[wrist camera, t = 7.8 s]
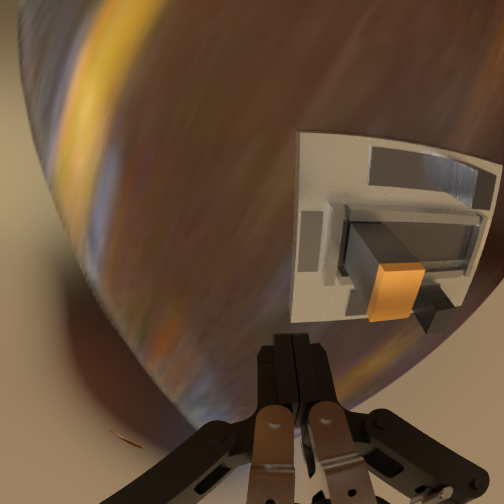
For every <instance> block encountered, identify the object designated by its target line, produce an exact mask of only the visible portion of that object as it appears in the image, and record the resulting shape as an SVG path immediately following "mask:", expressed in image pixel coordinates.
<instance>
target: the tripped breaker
mask: <svg viewBox="0 0 504 504" xmlns="http://www.w3.org/2000/svg"><path fill="white" fill-rule="evenodd" d="M344 267H345V269H346V271H347V273H348V275H349V277H350V279H351V281H352V283H353V285H354V287H355V289H356V292H357V294H358V296H359V298H360V300H361V302H362V305H363V307H364V309H365V311H366V314H367V316H368V318H369V320H370V322H374V321H383V320H392V319H400V318H408V317H409V314H410V312H411V309H412V307H413V304H414V302H415V299H416V296H417V293H418V291H419V288H420V285H421V282H422V279H423V276H424V273H425V268H424V267H423V266H422V265H421V264H420V262H419V261H418V260H417V259H416V258H415V257H414V255H413V254H412V253H411V252H410V251H409V250H408V249H407V247H406V246H405V245H404V244H403V243H402V242H401V241H400V240H399V239H398V238H397V236H396V235H395V234H394V233H393V232H392V231H391V230H390V229H389V228H388V227H387V226H386V225H385V224H362V223H351V226H350V233H349V240H348V247H347V253H346V259H345V265H344Z"/></svg>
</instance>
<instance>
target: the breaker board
mask: <svg viewBox="0 0 504 504" xmlns="http://www.w3.org/2000/svg"><path fill="white" fill-rule="evenodd" d="M501 173H502V165H500V164H498V163H495V162H493V161H490V160H487V159H484V158H481V157H477V156H473V155H470V154H466V153H462V152H458V151H454V150H450V149H445V148H441V147H436V146H431V145H426V144H421V143H416V142H410V141H404V140H398V139H391V138H384V137H377V136H368V135H359V134H349V133H337V132H323V131H302V130H296V162H295V202H294V228H293V249H292V267H291V283H290V298H289V314H290V321H291V323H293V322H315V321H332V320H346V319H359V318H368V316H367V314H366V311H365V309H364V307H363V305H362V302H361V300H360V298H359V296H358V294H357V292H356V289H355V287H354V285H353V283H352V281H351V279H350V277H349V275H348V273H347V271H346V269H345V267H344V265H345V259H346V253H347V247H348V240H349V233H350V226H351V223H362V224H385V225H386V226H387V227H388V228H389V229H390V230H391V231H392V232H393V233H394V234H395V235H396V236H397V238H398V239H399V240H400V241H401V242H402V243H403V244H404V245H405V246H406V247H407V249H408V250H409V251H410V252H411V253H412V254H413V255H414V257H415V258H416V259H417V260H418V261H419V262H420V264H421V265H422V266H423V267H424V268H425V273H424V276H423V279H422V282H421V285H420V288H419V291H418V293H417V296H416V299H415V302H414V304H413V307H412V309H411V312H410V313H414V314H415V316H416V318H417V319H418V321H419V323H420V324H421V326H422V328H423V330H424V331H425V333H426V334H430V333H435V332H440V331H445V329H446V327H447V325H448V323H449V321H450V319H451V317H452V315H453V313H454V311H455V309H456V307H455V306H461V304H462V302H463V300H464V298H465V295H466V293H467V291H468V288H469V286H470V283H471V281H472V278H473V276H474V273H475V271H476V268H477V265H478V262H479V260H480V257H481V254H482V251H483V248H484V245H485V242H486V238H487V235H488V231H489V228H490V224H491V221H492V217H493V213H494V209H495V204H496V200H497V195H498V190H499V185H500V179H501Z"/></svg>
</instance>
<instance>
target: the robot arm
mask: <svg viewBox="0 0 504 504" xmlns="http://www.w3.org/2000/svg"><path fill="white" fill-rule="evenodd" d="M257 360H258V406H257V409H256V411H255V413H254V414H253V415H252V416H251V417H249V418H248V419H246V420H243V421H240V422H237V423H233V424H229V423H227V422H225V421H219V420H216V421H211V422H208V423H206V424H205V425H203V426H202V427H201V428H200V429H199V430H198V431H196V432H195V433H194V434H193V435H192V436H191V437H189V438H188V439H187V440H186V441H185V442H184V443H182V444H181V445H180V446H179V447H177V448H176V449H175V450H174V451H173V452H171V453H170V454H169V455H167V456H166V457H165V458H164V459H162V460H161V461H160V462H158V463H157V464H156V465H155V466H153V467H152V468H151V469H149V470H148V471H146V472H145V473H144V474H143V475H141V476H140V477H138V478H137V479H135V480H134V481H133V482H131V483H130V484H128V485H127V486H125V487H124V488H122V489H121V490H119V491H118V492H116V493H115V494H113V495H112V496H110V497H109V498H107V499H106V500H104V501H102V502H101V503H99V504H196V503H198V502H199V501H200V500H201V499H203V498H204V497H205V496H206V495H207V494H208V493H210V492H211V491H212V490H213V489H214V488H215V487H216V486H218V485H219V484H220V483H221V482H222V481H223V480H224V479H225V478H226V477H227V476H228V475H229V474H230V473H231V472H233V471H234V470H235V469H236V468H237V467H238V466H240V465H244V464H247V463H251V462H252V464H251V468H250V475H249V484H248V493H247V502H246V504H298V503H294V493H295V469H294V425H295V428H296V427H301V435H302V437H301V440H300V444H301V449H302V455H303V460H304V465H305V471H306V476H307V495H308V501H309V504H390V503H389V502H387V501H385V500H384V499H382V498H380V497H378V496H375V494H374V490H373V486H372V483H371V479H370V475H369V472H368V470H369V471H370V472H371V473H373V474H374V475H376V476H377V477H378V478H380V479H381V480H383V481H384V482H386V483H387V484H389V485H390V486H392V487H393V488H395V489H396V490H398V491H399V492H401V493H403V494H404V495H406V496H407V497H409V498H410V499H411V501H410V504H467V503H468V502H469V501H472V500H474V499H476V498H478V497H480V496H482V495H483V494H484V493H485V492H486V490H487V488H488V486H489V475H488V473H487V471H485V470H484V469H483V468H481V467H479V466H477V465H476V464H474V463H472V462H470V461H469V460H467V459H465V458H464V457H462V456H460V455H458V454H457V453H455V452H453V451H452V450H450V449H448V448H447V447H445V446H444V445H442V444H440V443H439V442H437V441H436V440H434V439H432V438H431V437H429V436H428V435H426V434H424V433H423V432H422V431H420V430H418V429H417V428H415V427H414V426H412V425H411V424H409V423H408V422H406V421H405V420H403V419H402V418H400V417H399V416H397V415H396V414H394V413H393V412H391V411H390V410H387V409H376V410H373V411H372V412H370V413H369V414H363V413H356V412H351V411H348V410H346V409H344V408H343V407H342V406H341V405H340V404H339V402H338V400H337V397H336V393H335V388H334V384H333V379H332V375H331V371H330V366H329V363H328V358H327V354H326V351H325V350H324V348H323V347H322V346H321V345H320V343H315V344H310V340H309V336H308V333H307V332H305V333H291V335H290V333H286V334H274V336H273V346H262V347H261V349H260V351H259V353H258V355H257Z"/></svg>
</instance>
